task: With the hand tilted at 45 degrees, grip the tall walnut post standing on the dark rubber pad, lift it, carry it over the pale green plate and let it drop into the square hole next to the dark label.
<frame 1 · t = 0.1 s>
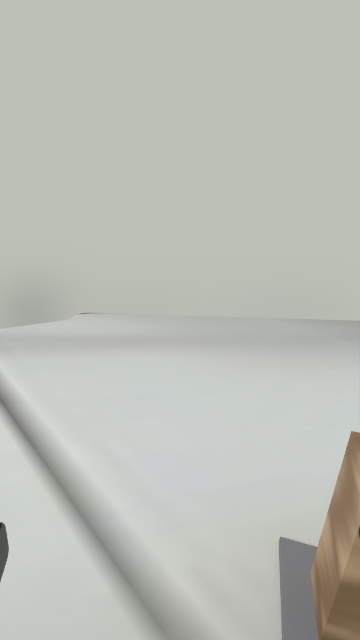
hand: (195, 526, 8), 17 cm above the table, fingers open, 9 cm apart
post: (348, 615, 19), point 1 cm above the table, touching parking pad
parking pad: (346, 621, 20), on the table
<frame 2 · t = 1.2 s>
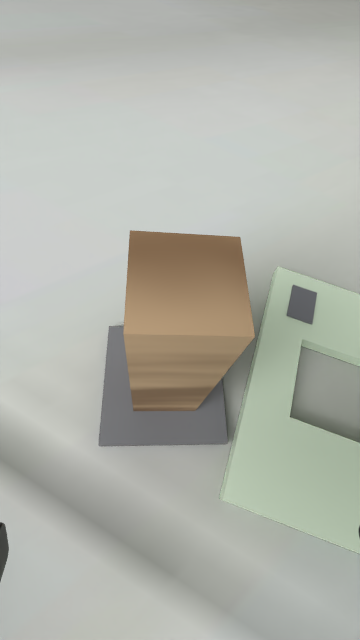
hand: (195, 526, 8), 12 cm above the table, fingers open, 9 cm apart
post: (164, 380, 21), point 1 cm above the table, touching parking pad
flange plate: (329, 393, 22), on the table
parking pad: (164, 383, 21), on the table
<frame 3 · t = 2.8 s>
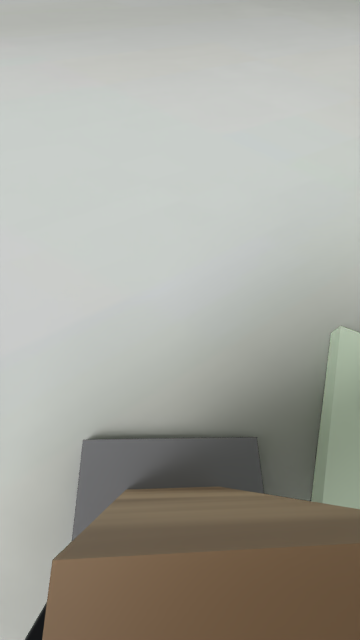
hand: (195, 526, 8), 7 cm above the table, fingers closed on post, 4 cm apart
post: (173, 544, 12), point 1 cm above the table, touching gripper, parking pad
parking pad: (172, 541, 13), on the table
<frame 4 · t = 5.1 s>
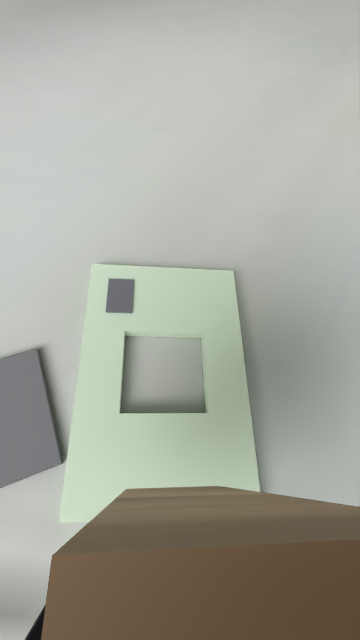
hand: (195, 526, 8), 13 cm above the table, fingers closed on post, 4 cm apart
post: (173, 544, 12), point 7 cm above the table, touching gripper
flange plate: (163, 374, 23), on the table
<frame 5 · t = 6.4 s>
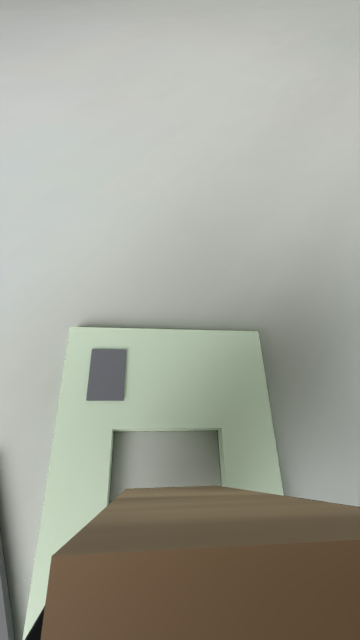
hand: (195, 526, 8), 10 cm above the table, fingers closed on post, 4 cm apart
post: (174, 544, 12), point 4 cm above the table, touching gripper
flange plate: (167, 490, 16), on the table
when the fingers open (8 cm above the table, at t = 7.2 s): post drops 2 cm, resting in flange plate.
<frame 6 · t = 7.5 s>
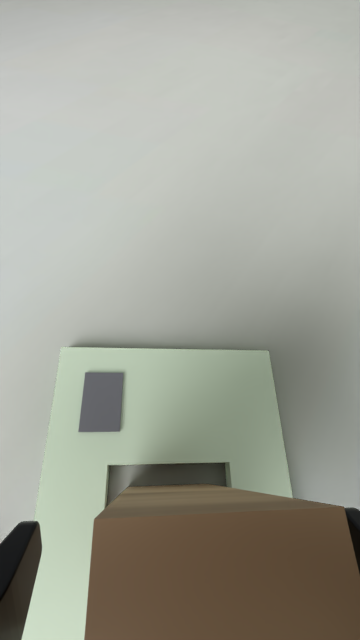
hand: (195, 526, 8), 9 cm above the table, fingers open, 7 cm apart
post: (168, 532, 15), resting in flange plate
flange plate: (168, 533, 15), on the table
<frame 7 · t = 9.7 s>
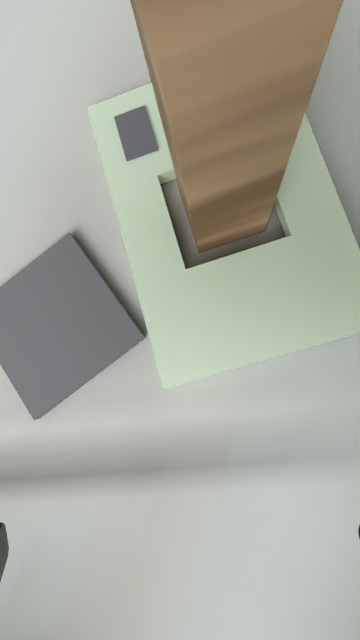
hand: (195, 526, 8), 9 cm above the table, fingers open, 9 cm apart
post: (221, 211, 18), resting in flange plate
flange plate: (221, 212, 18), on the table
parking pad: (57, 324, 19), on the table
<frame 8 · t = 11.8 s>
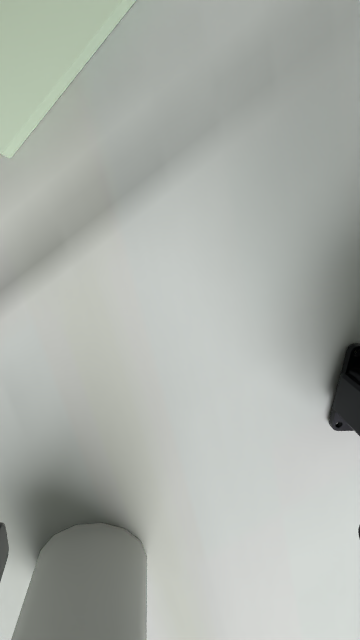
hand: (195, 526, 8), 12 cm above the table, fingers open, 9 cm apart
cup: (93, 559, 25), on the table
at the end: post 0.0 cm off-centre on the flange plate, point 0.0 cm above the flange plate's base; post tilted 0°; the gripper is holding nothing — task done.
